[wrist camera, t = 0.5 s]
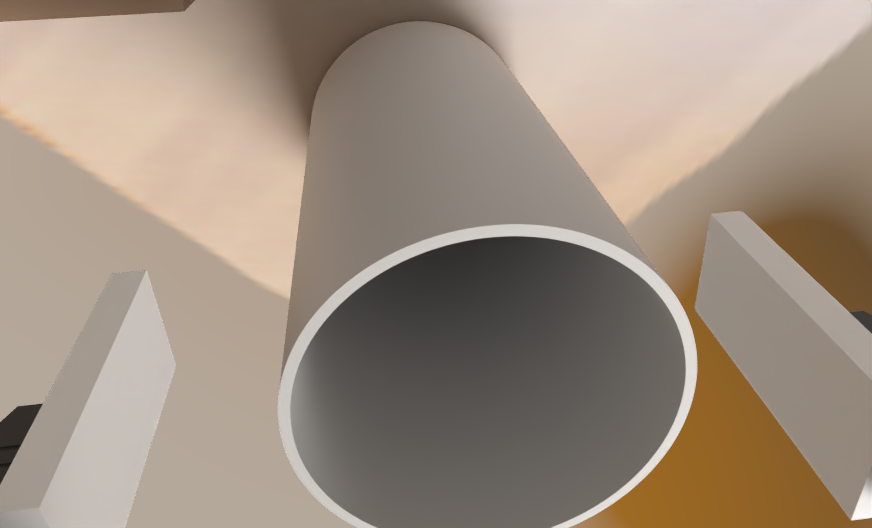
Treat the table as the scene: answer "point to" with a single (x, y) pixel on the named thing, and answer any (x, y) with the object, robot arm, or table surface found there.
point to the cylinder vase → (467, 304)
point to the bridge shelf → (84, 8)
